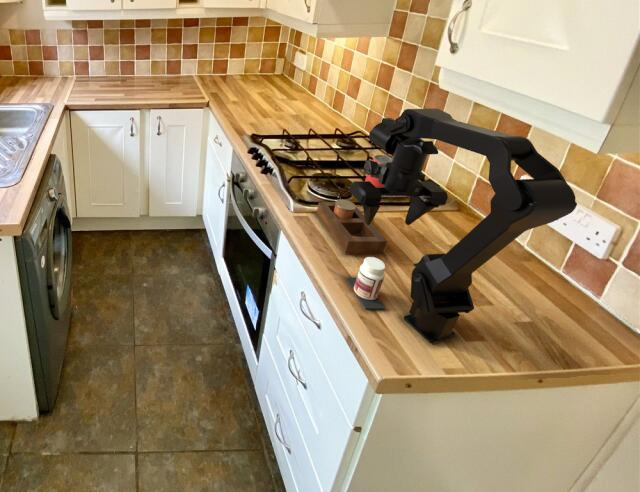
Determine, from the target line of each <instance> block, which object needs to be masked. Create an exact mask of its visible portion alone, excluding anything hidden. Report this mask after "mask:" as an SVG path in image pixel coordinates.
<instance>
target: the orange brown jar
mask: <svg viewBox="0 0 640 492" xmlns="http://www.w3.org/2000/svg"><path fill="white" fill-rule="evenodd" d="M334 202H335V208H334V212H333V213H334V214H335V216H336V217H337V218H352V216H353V213H354V210H355V208H356V207H357V206H356V204H355V203H354V202H353V201H350V200H348V199H342V198H340V199H337V200H336V201H334ZM352 202H353V203H352Z"/></svg>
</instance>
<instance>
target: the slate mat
mask: <svg viewBox="0 0 640 492" xmlns="http://www.w3.org/2000/svg"><path fill="white" fill-rule="evenodd" d="M356 278H357V277H345V280H346V281H347V283H348V284H349V286H350V288H351V289H352V291H353V292H354V294H355V295H356V297H357V298H358V300H359V302H360V303H361V305H362V306H363V308H364V310H371V311H372V310H374V311H377V310H378V311H381V310H382V311H385V309H386V308H385V307H384V305H383V304H382V301H380V300H379V299H380V298H378V297H377V298H376V299H374V300H367V299H364V298H362V297H360V296H358V295H357V294H356V292H355V291H354V285H355V282H356Z"/></svg>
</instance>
